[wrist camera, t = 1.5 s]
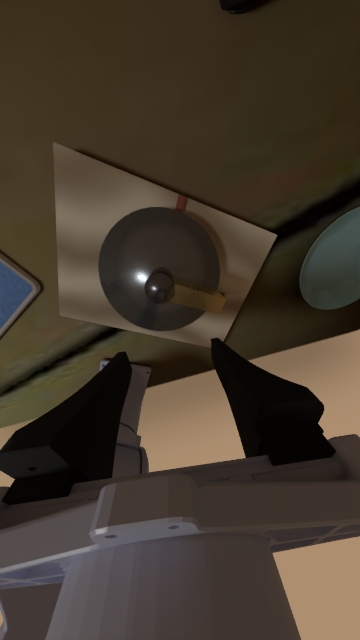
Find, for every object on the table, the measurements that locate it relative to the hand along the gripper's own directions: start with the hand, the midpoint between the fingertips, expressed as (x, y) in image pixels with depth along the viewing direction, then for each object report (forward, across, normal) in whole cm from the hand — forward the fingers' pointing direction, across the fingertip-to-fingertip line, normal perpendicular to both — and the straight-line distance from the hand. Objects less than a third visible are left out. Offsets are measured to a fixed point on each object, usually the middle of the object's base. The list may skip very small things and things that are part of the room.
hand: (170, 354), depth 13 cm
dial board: (+10, 0, -5) cm, 11 cm away
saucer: (+10, -22, -3) cm, 25 cm away
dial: (+8, 0, -5) cm, 9 cm away
